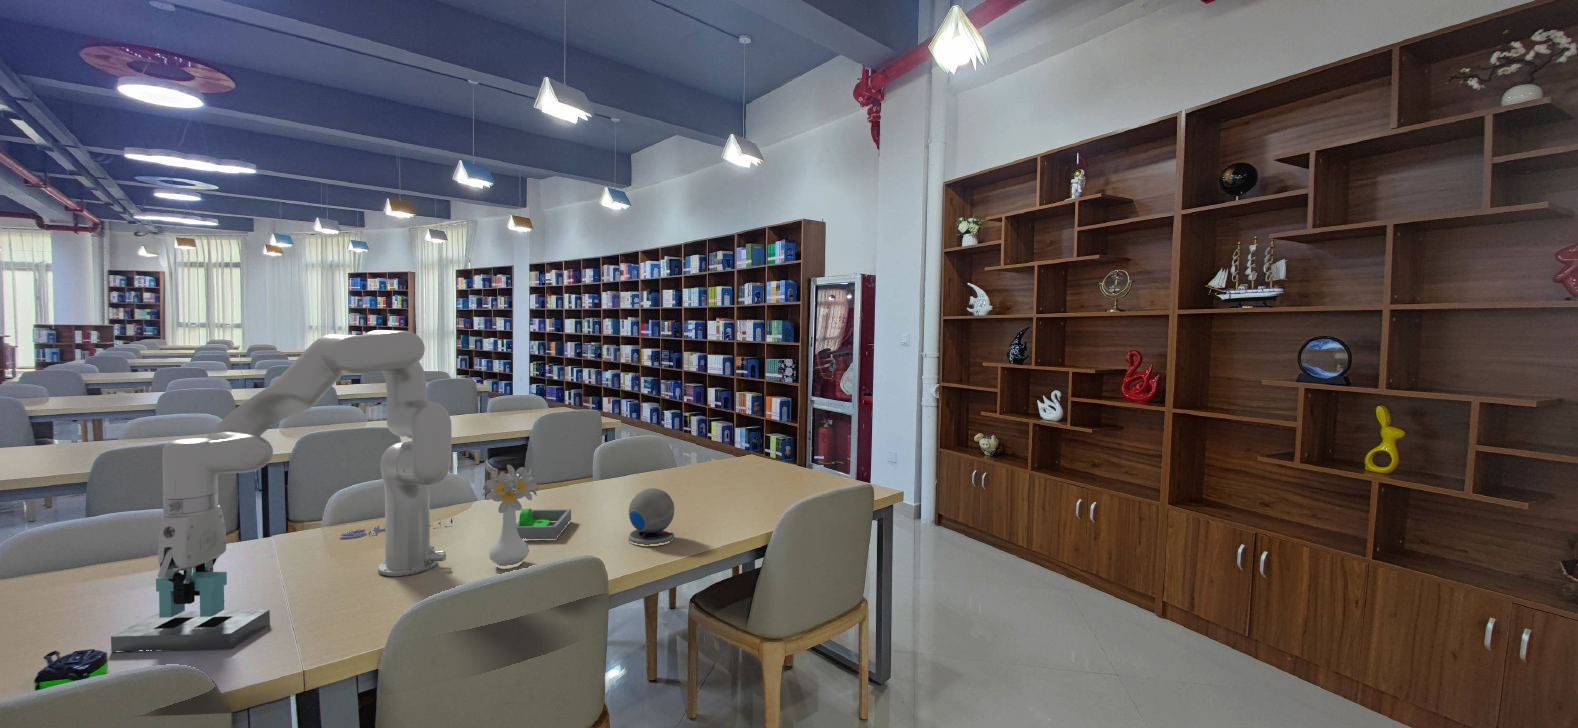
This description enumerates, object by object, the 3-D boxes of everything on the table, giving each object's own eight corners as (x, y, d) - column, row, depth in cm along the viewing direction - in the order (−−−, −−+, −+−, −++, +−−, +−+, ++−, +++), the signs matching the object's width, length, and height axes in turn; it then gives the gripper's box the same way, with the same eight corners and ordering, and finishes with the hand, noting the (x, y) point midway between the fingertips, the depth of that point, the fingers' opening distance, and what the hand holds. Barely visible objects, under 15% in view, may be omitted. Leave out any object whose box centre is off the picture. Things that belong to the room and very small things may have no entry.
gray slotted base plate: (269, 624, 125) (269, 609, 125) (230, 649, 115) (230, 633, 115) (160, 626, 123) (160, 611, 123) (111, 652, 113) (110, 636, 113)
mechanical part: (540, 538, 181) (540, 511, 180) (519, 538, 180) (519, 511, 180) (552, 525, 193) (552, 500, 192) (532, 525, 192) (532, 500, 192)
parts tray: (571, 521, 196) (571, 509, 196) (555, 540, 178) (555, 526, 178) (531, 522, 195) (531, 509, 195) (512, 541, 177) (512, 527, 177)
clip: (227, 609, 121) (226, 571, 120) (214, 616, 118) (214, 577, 117) (170, 610, 120) (170, 572, 119) (156, 617, 117) (155, 578, 116)
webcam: (682, 538, 183) (683, 488, 182) (651, 550, 172) (652, 497, 172) (650, 530, 190) (651, 481, 189) (618, 541, 179) (619, 489, 178)
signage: (338, 539, 175) (342, 529, 183) (338, 541, 175) (342, 531, 183) (452, 525, 189) (451, 516, 198) (452, 527, 189) (451, 518, 198)
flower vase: (489, 583, 147) (489, 479, 146) (478, 559, 163) (478, 464, 162) (546, 572, 155) (546, 473, 154) (530, 550, 170) (531, 460, 169)
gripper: (175, 516, 110) (176, 617, 111) (245, 493, 126) (246, 582, 127) (128, 516, 109) (130, 618, 110) (205, 493, 126) (206, 582, 126)
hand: (192, 598), depth 119 cm, fingers closed on clip, 3 cm apart
